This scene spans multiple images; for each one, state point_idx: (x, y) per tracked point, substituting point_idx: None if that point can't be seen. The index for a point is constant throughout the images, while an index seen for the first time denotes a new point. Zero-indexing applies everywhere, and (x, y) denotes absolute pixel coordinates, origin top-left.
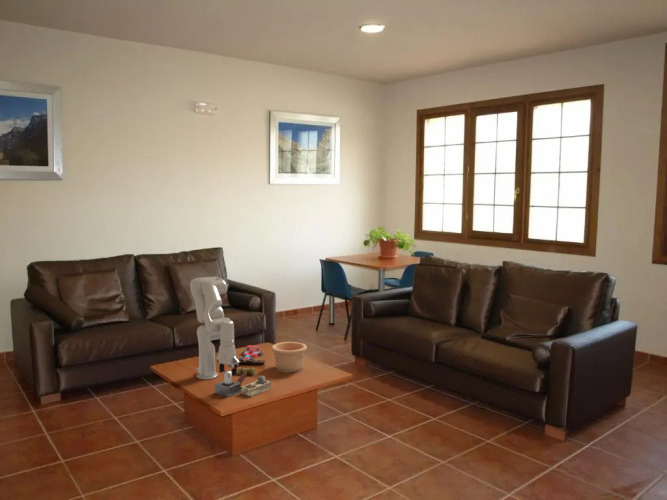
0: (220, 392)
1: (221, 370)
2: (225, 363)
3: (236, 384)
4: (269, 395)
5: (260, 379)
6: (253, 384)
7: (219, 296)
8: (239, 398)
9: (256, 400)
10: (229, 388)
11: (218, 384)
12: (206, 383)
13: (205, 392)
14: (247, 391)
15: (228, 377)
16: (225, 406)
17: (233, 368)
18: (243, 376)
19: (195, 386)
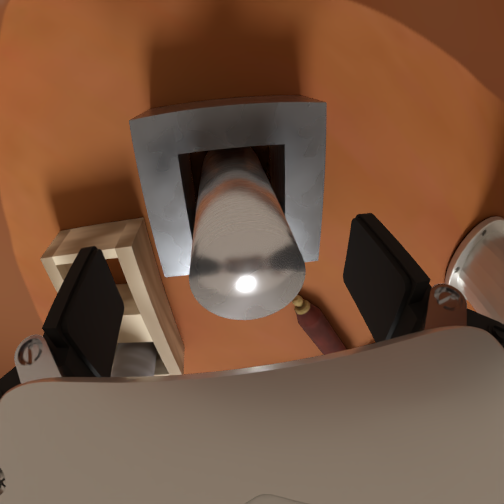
0: (236, 99)
1: (361, 248)
2: (170, 399)
3: (163, 240)
4: (44, 300)
5: (116, 368)
6: (123, 321)
7: None
8: (77, 161)
9: (9, 220)
10: (135, 143)
11: (299, 126)
12: (452, 194)
13: (370, 70)
14: (77, 242)
15: (197, 220)
16: (34, 22)
17: (32, 338)
18: (323, 352)
19: (472, 126)
